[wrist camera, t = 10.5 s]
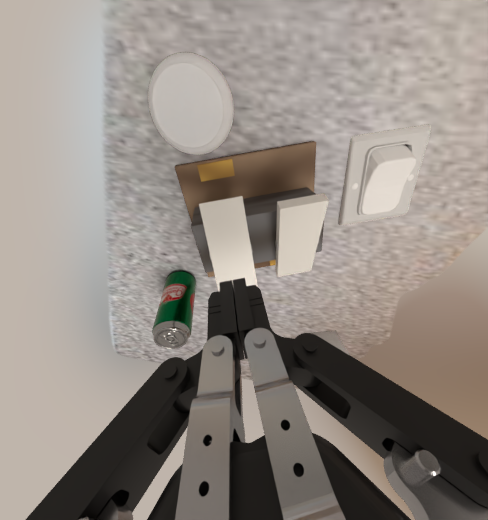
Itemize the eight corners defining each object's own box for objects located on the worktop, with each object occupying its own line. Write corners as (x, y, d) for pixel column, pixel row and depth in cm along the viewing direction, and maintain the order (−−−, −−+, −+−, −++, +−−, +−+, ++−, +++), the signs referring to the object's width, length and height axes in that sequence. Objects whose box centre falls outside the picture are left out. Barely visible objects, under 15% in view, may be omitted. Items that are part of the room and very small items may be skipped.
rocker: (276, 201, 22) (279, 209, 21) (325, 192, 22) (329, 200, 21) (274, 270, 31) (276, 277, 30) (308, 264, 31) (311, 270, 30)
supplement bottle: (165, 132, 26) (132, 148, 15) (170, 60, 22) (132, 15, 12) (220, 149, 27) (225, 173, 17) (233, 84, 24) (250, 64, 13)
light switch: (450, 122, 26) (418, 221, 33) (422, 123, 30) (399, 212, 36) (363, 136, 26) (349, 233, 32) (346, 135, 29) (336, 223, 36)
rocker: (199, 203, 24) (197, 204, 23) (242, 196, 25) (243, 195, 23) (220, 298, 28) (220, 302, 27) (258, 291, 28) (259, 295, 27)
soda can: (187, 265, 36) (177, 322, 27) (201, 285, 39) (197, 343, 30) (160, 275, 37) (142, 334, 27) (176, 294, 40) (164, 354, 30)
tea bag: (309, 332, 52) (327, 374, 44) (335, 330, 52) (358, 371, 44) (306, 342, 54) (323, 383, 46) (331, 339, 55) (352, 380, 46)
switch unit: (175, 165, 28) (166, 179, 22) (313, 141, 28) (339, 148, 22) (208, 273, 38) (207, 302, 32) (308, 254, 38) (325, 280, 33)
